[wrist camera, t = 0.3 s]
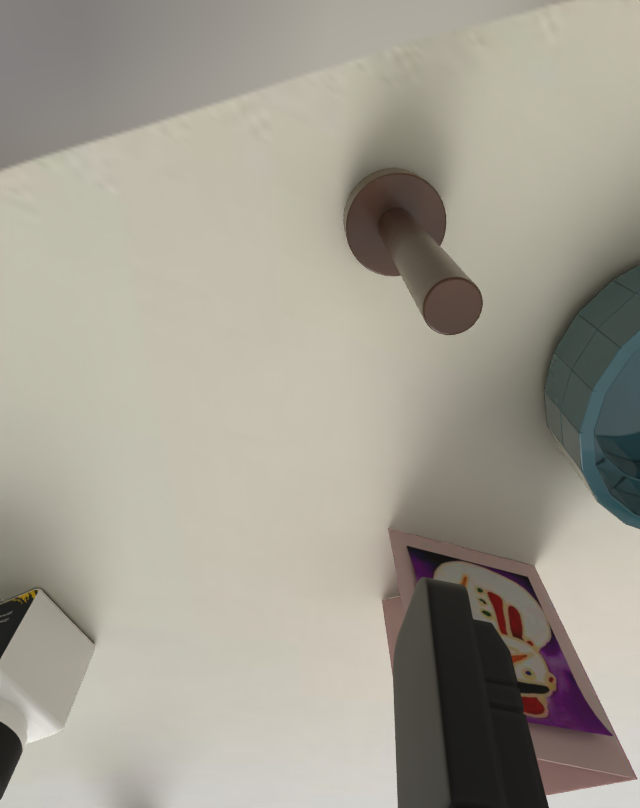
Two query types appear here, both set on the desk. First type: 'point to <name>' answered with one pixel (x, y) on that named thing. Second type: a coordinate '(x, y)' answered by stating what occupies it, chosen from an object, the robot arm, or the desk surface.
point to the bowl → (601, 396)
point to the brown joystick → (411, 246)
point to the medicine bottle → (36, 673)
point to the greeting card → (522, 657)
